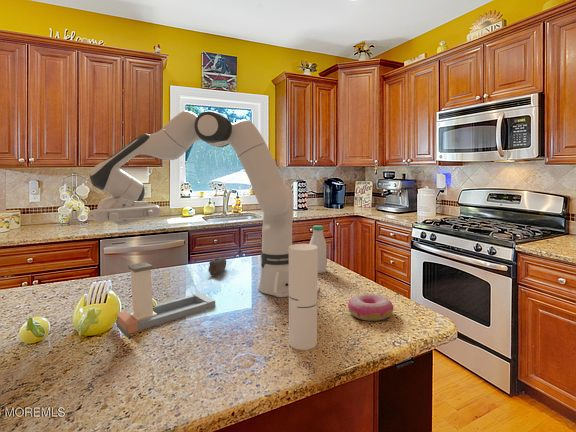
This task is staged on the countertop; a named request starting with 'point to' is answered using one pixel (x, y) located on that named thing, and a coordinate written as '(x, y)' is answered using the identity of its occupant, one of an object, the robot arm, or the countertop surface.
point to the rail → (165, 313)
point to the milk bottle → (320, 247)
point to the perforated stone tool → (217, 266)
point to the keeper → (141, 291)
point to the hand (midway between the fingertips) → (135, 215)
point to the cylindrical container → (303, 296)
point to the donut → (370, 307)
